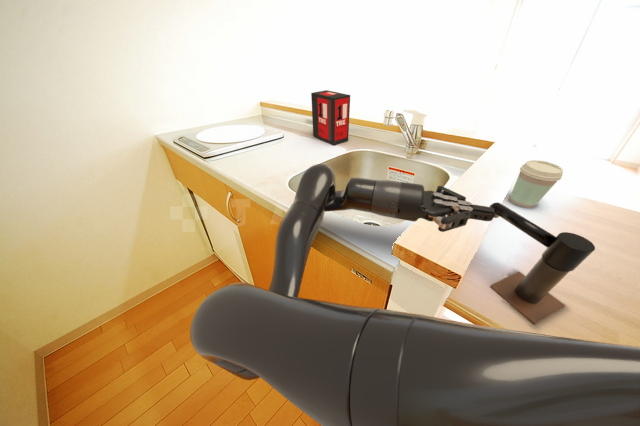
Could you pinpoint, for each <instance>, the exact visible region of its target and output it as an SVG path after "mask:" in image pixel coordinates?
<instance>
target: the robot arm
mask: <svg viewBox="0 0 640 426" xmlns="http://www.w3.org/2000/svg"><path fill="white" fill-rule="evenodd" d="M336 179H337V178H336V175H335V171H334V170H333V169H332V167H330V166H329V165H327V164H324V163H317V164H313V165H311V166H309V167H308V168H307V169H306V170H305V171H304V172H303V174H302V175H301V177H300V180H299V183H298V186H297V189H296V191H295V194H294V195H295V196H294V199H293V202H292V204H291V205H290V206H289V208H288V209H287V211H286V212H285V215H284V216H283V217H282V219H281V221H280V223H279V226H278V228H277V232H276V237H275V244H274V260H273V269H272V275H271V280H270V283H269V287H268V289H267V288H262V287H260V286H258V285H254V284H251V283H247V282H243V281H242V282H241V281H240V282H233V283H227V284H225V285H223V286H220V287H219V288H217V289H215V290H214V291H212V292H211V293H210V294H208V295H207V296H206V297H205V298H204V299H203V300H202V301H201V303H200V304H199V306H198V307H197V309H195V312H194V314H193V316H192V319H191V323H190V329H189V336H190V342H191V346H192V347H193V349H194V351H195V352H196V353H197V354H198V355H199V356H200V357H201V358H203V359H204V360H206V361H207V362H210V363H212V364H213V365H215V366H217V367H218V368H221V369H223V370H224V371H226V372H228V373H230V374H232V375H233V376H236V377H238V378H240V379H242V380H245V381H253V380H257V379H259V378H261V379H262V380H263V381H265V382H266V383H267V384H268V385H269V386H271V388H273V389H274V390H275V391H276V392H277V393H279V394H280V395H281V396H283V397H284V398H285V399H286V400H287V401H288V402H290V403H291V404H292V405H294V406H295V407H296V408H297V409H299V410H300V411H302V412H303V413H304V414H306V415H307V416H308V417H310V418H311V419H312V420H313V421H315V422H316V423H317V424H319V425H320V426H640V346H639V345H629V344H622V343H613V342H604V341H597V340H589V339H582V338H581V339H580V338H572V337H565V336H564V337H563V336H556V335H549V334H544V333H543V334H542V333H536V332H530V331H529V332H528V331H521V330H515V329H507V328H501V327H494V326H488V325H487V326H486V325H480V324H475V323H467V322H463V321H458V320H451V319H446V318H441V317H437V316H430V315H425V314H419V313H412V312H405V311H400V310H394V309H393V310H392V309H385V308H379V307H368V306H359V305H352V304H345V303H340V302H334V301H327V300H322V299H321V300H320V299H313V298H304V297H299V295H300V290H301V286H302V282H303V277H304V273H305V270H306V266H307V262H308V259H309V256H310V251H311V249H312V246H313V244H314V241H315V239H316V238H317V237H316V236H317V235H318V232H319V230H320V229H321V226H322V224H323V221H324V218H325V214H326V213H325V212H337V211H338V212H339V211H349V210H352V211H353V210H354V211H357V212H365V213H370V214H374V215H377V216H381V217H386V218H391V219H398V220H402V221H408V222H417V221H418V220H419V219H423V220H424V221H428V222H431V223H432V222H433V223H435V224H436V225H438V227H437V230H438V231H439V232H441V233H445V232H448V231H451V230H454V229H458V228H462V227H465V226H466V225H467V224H468V221H469V220H475V221H482V222H491V221H493V219H495V218H494V216H495V211H494V209H493V208H492V207H490V206H486V205H481V204H480V205H479V204H473V203H471V202H470V201H468V200H467V197H466V196H465V195H462V194H460V193H457V192H455V191H453V190H451V189H449V188H447V187H445V186H443V185H438V186H436V190H425V186H424V185H423V184H422V183H421V184H420V183H412V182H407V181H406V182H405V181H397V180H390V179H373V178H365V177H359V176H358V177H356V176H355V177H350V178H349V179H348V181H347V183H346V185H345V188H344V189H343V190H337V185H336V183H337V182H336Z"/></svg>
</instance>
